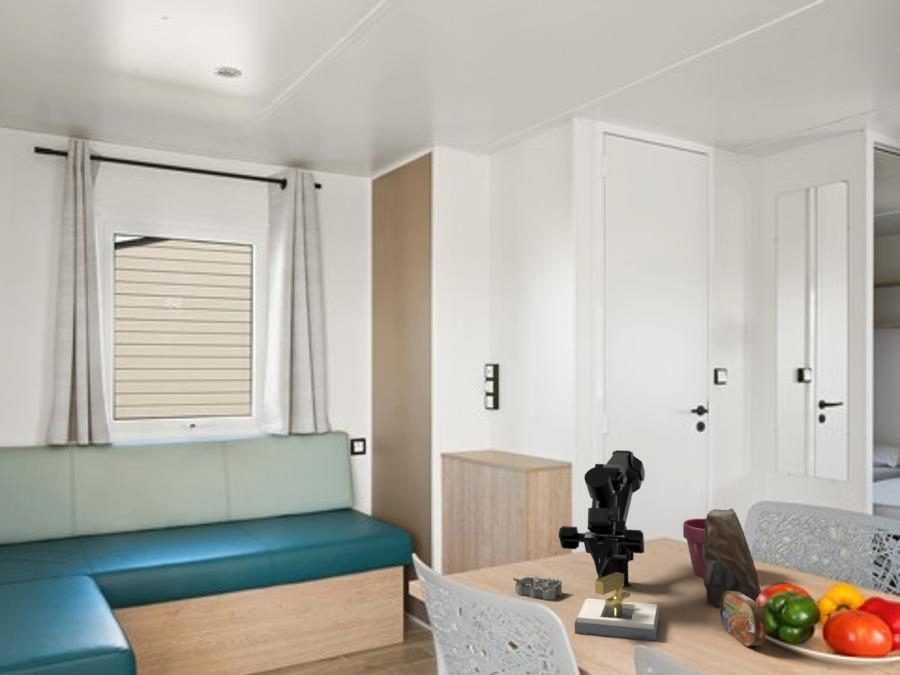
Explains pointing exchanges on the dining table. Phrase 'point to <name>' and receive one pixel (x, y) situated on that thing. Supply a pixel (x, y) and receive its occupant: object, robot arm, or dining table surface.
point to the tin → (743, 618)
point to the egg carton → (538, 587)
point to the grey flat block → (619, 627)
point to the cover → (594, 612)
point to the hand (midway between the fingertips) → (598, 573)
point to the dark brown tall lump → (727, 558)
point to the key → (613, 584)
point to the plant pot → (696, 543)
